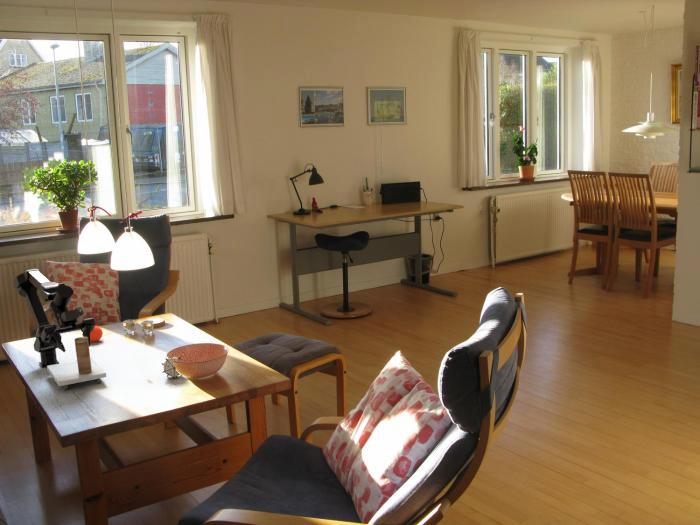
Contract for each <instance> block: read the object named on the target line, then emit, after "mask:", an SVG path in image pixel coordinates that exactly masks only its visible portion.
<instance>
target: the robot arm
mask: <svg viewBox="0 0 700 525" xmlns="http://www.w3.org/2000/svg"><path fill="white" fill-rule="evenodd" d="M12 283H13V287H14V289H16V292H17V293H18V295H20V296H21V297H22V298H24V299H25V301H26V304H27V307H28V309H29V311H30V314H31V317H32V319H33V321H34V322H33V323H34V324H35V327H36V334H35V340H34V343H33V345H32V346H33V349H34V351H35V352H37V353H39V354H40V355H39V356H40V362H38V364H39V366H40V367H41V368H47V366H49V365H55V364H60V362H59V361H58V358H57V349H59V350H60V351H62V352H63V353H65V352H66V348H65V345H64V344H63V341H62V334H64V333H65V334H66V333H70V332H73V331H81V332H82V334H81V335H82V337H88V344H89V347H91V341H90V333H91V331H93V329H94V327H95V326H97V321H96V319H95V318H93V317H89V318H84V319H83V320H82V322H81V323H78V319H80V317H82V316H83V315H84V311H83V309H82V307H81V306H78V307H75V308H74V309H71V310H70V308H69V306H68V305H70V303H71V301H72V299H73V296H74V289H73V288H72V287H71V286H69V285H65V282H62V283H58V282H53V281H50V280H49V279H48V278H47V277H46V276H44V275H43V274H42V273H41V271H40V269H39V268H30V269H26V270H24V271H23V272H22V273H21V274H18V275H17V276H16V277H15V278H14V279H13V282H12ZM38 290H39V292H40V293H39V294H40V296H39V294H38ZM40 298H41V299H42V300H43V302H46V303H47V302H50V303H49V308H48V309H49V312H51V314H52V315H53V319H54V323H53V324H51V322H50V321H49V319H48V316H47V314H46V311H45V308H44V306H43V304H42V302H41V299H40ZM77 323H78V324H77ZM57 327H58V328H57Z"/></svg>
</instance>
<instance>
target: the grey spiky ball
mask: <svg viewBox="0 0 700 525" xmlns="http://www.w3.org/2000/svg"><path fill="white" fill-rule="evenodd" d="M172 355H173V356H174V354H171V356H172ZM181 358H182V356H179V357H177V356H174V357H173V358H172V359H171V358H170V357H168V358H167V357H166V358H165V361H164V363H161V365H162V366H163V371H162V372H161V373H162V374H163V373H165V374H166V378H167V377H169V376H170V377H172V378H173V379H174V380H176V378H177V377H178V376H179V375H180V374H179V373H178V372H177V371H176V367H175V365H174V364H173V362H172V361H174V360H175V361H181V360H182V359H181Z"/></svg>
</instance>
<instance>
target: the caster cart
mask: <svg viewBox="0 0 700 525" xmlns="http://www.w3.org/2000/svg"><path fill="white" fill-rule="evenodd" d="M90 360H91V369H92V372H91V373H88V374H79V371H78V363H77V360H72V361H71V360H70V361H67V362H59V364H55V365H49V366H47V367H46V368H47V369H46V370H47V372H48V373H49V374H50V376H51V377H52V379H53V380H54V382H55V383H56V385H57V386H58V387H61V386H62V388H63V391H68V390H69V385H72V384H77V383H83V382H88V381H93V380H95V384H96V385H97V384H101V379H103V378H107V373H106V371H105V370H104V369H103V368H102V367H101V366H100V365H99V364H98V362H96V361H95V359H93V357H90Z"/></svg>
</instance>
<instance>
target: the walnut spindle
mask: <svg viewBox="0 0 700 525" xmlns="http://www.w3.org/2000/svg"><path fill="white" fill-rule="evenodd" d="M74 346H75V353H76V361H77V363H78V371H79V374H88V373H91V372H92V369H91V360H90V358H91V353H90V346H89V344H88V337H83V336H79V337H76V338H74Z"/></svg>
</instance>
